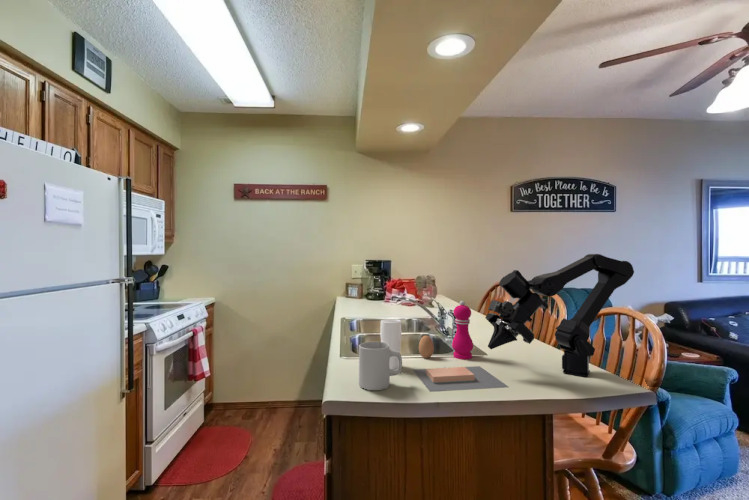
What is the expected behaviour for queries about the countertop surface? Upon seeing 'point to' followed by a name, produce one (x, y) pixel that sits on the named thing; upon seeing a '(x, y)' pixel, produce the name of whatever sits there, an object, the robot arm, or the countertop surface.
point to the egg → (426, 347)
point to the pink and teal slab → (450, 375)
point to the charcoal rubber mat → (481, 382)
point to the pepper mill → (462, 333)
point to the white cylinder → (391, 338)
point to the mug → (376, 365)
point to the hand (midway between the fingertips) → (489, 347)
